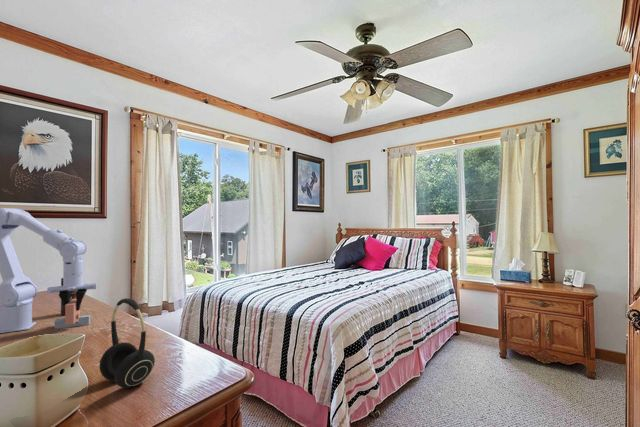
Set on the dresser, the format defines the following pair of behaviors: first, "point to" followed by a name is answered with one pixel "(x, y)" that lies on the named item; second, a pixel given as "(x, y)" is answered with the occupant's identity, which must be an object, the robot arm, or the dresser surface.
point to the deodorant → (72, 296)
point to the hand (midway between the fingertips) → (73, 310)
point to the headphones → (126, 356)
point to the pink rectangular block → (71, 312)
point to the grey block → (82, 321)
